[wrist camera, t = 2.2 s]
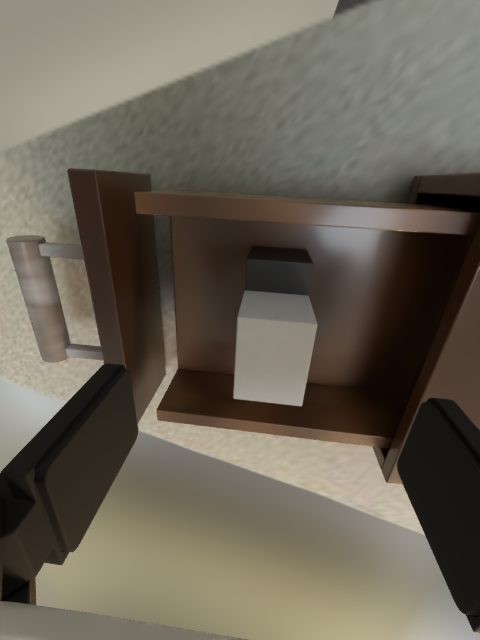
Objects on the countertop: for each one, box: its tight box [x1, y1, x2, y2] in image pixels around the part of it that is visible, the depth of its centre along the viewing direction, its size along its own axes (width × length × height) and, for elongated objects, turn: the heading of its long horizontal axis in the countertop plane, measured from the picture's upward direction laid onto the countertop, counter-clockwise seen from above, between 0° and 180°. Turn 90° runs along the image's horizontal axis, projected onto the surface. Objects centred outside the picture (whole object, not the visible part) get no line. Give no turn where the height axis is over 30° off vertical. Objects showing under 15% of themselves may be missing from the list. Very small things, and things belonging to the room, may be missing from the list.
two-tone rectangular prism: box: [233, 246, 317, 406], centre depth 14 cm, size 7×3×6 cm, turn 177°
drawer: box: [6, 168, 480, 449], centre depth 16 cm, size 24×13×5 cm, turn 87°
